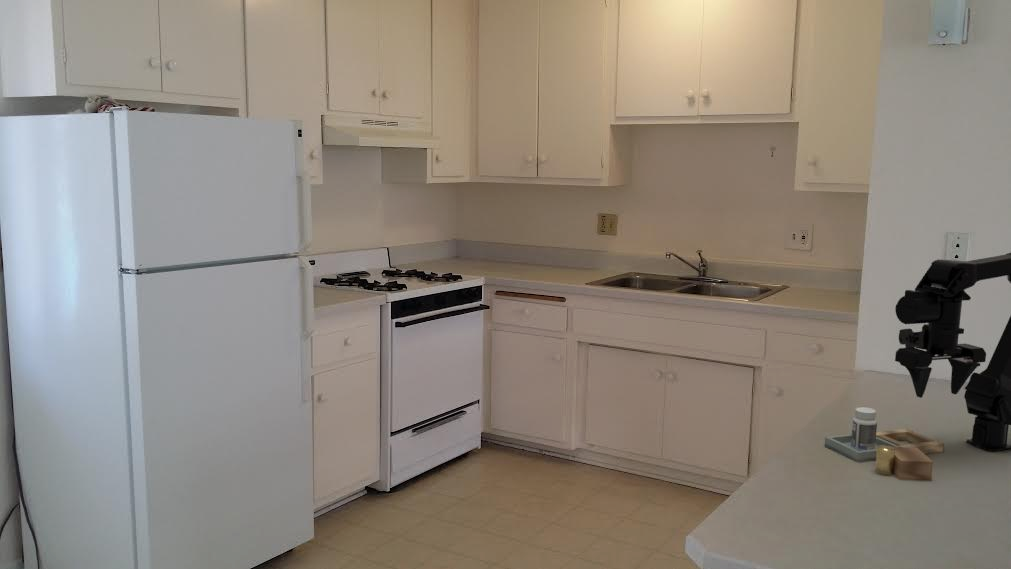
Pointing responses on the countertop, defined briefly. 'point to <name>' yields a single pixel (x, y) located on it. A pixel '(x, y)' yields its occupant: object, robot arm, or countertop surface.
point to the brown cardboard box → (912, 464)
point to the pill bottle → (864, 429)
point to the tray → (844, 447)
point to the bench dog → (884, 460)
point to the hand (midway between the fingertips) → (936, 395)
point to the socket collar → (911, 440)
